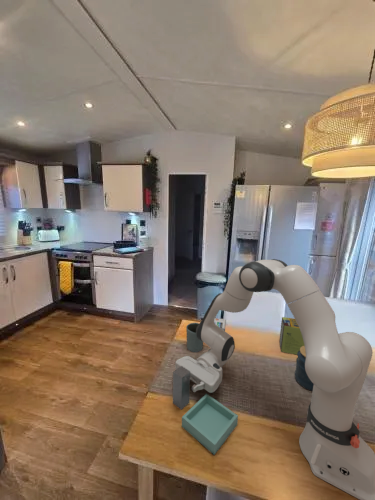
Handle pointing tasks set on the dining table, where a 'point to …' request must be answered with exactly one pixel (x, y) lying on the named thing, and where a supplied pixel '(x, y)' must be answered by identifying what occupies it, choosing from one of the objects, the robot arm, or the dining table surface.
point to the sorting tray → (210, 423)
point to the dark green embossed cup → (193, 338)
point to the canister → (302, 370)
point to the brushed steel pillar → (181, 387)
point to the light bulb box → (220, 323)
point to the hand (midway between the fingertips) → (183, 383)
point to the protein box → (290, 336)
